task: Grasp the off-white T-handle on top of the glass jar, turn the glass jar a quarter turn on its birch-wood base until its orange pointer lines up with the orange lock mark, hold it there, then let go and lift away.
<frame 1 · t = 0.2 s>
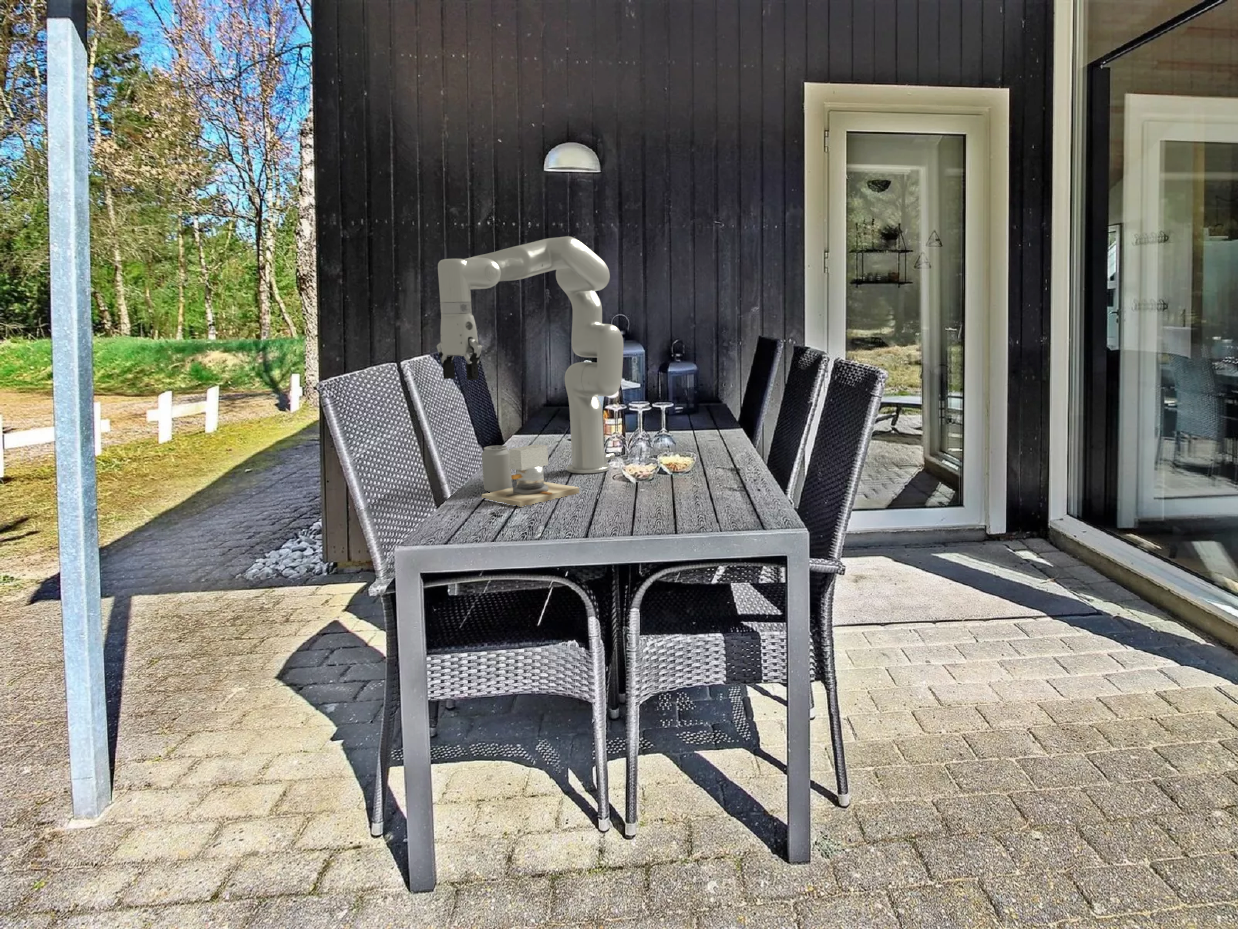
hand: (460, 379, 219), 31 cm above the table, tool pointing down, fingers open, 9 cm apart
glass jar: (527, 467, 222), point 8 cm above the table, hinge at 0.0°
base plate: (531, 496, 224), on the table
can: (498, 491, 232), on the table
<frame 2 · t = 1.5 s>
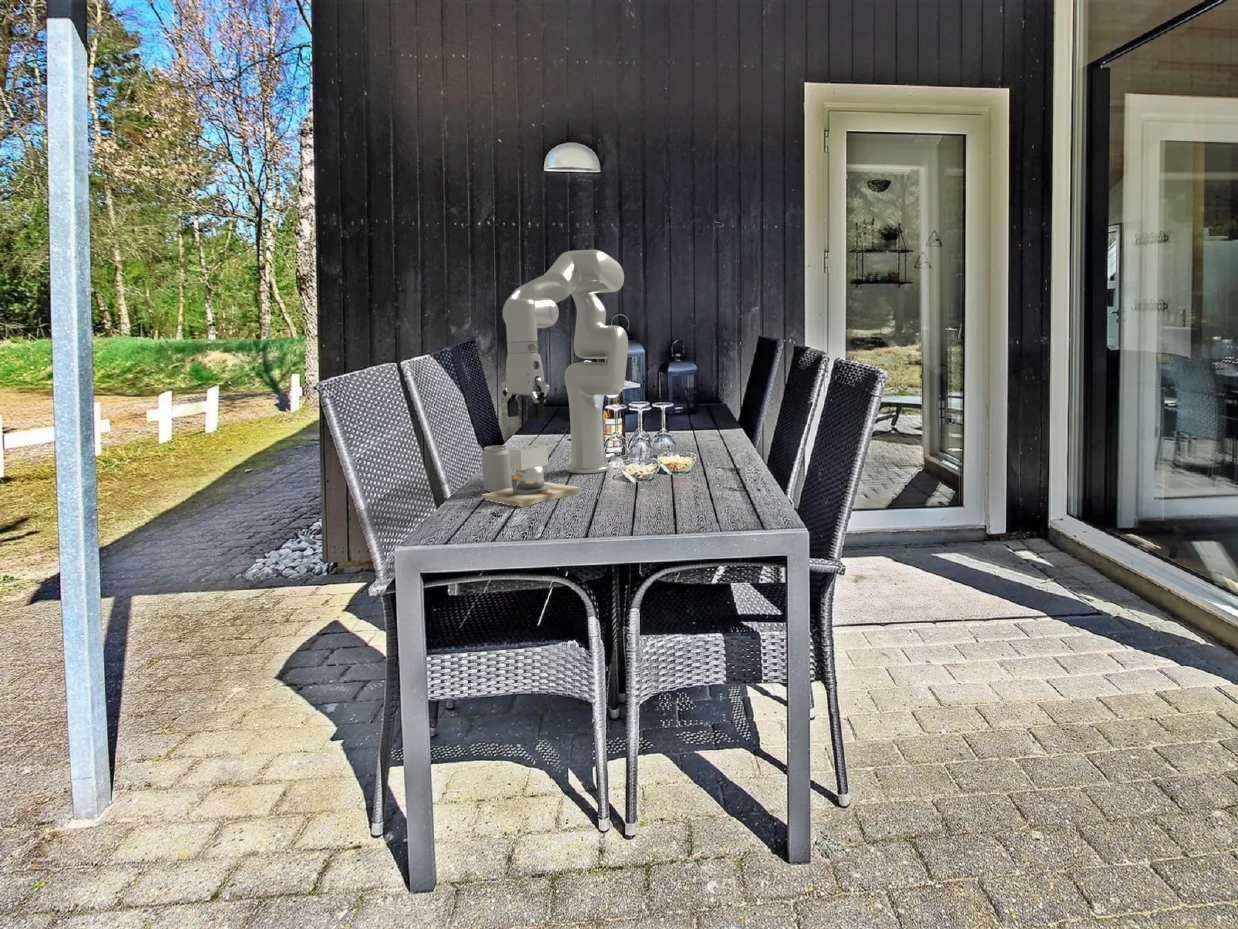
hand: (525, 417, 220), 21 cm above the table, tool pointing down, fingers open, 9 cm apart
nothing on the table moved.
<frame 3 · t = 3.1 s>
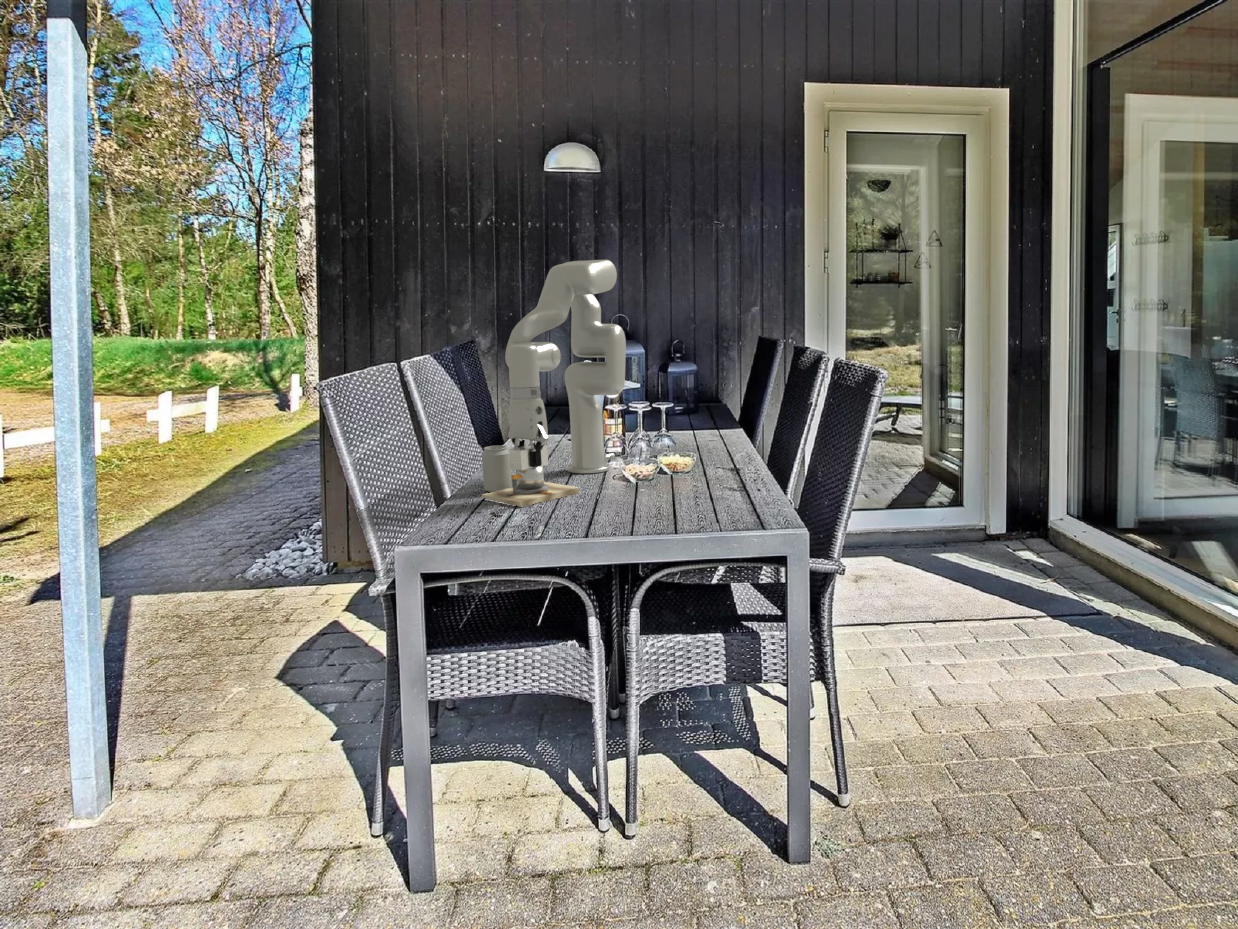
hand: (529, 464, 222), 8 cm above the table, tool pointing down, fingers closed on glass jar, 4 cm apart
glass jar: (527, 467, 222), point 8 cm above the table, hinge at 0.0°, touching gripper
everything else where it was.
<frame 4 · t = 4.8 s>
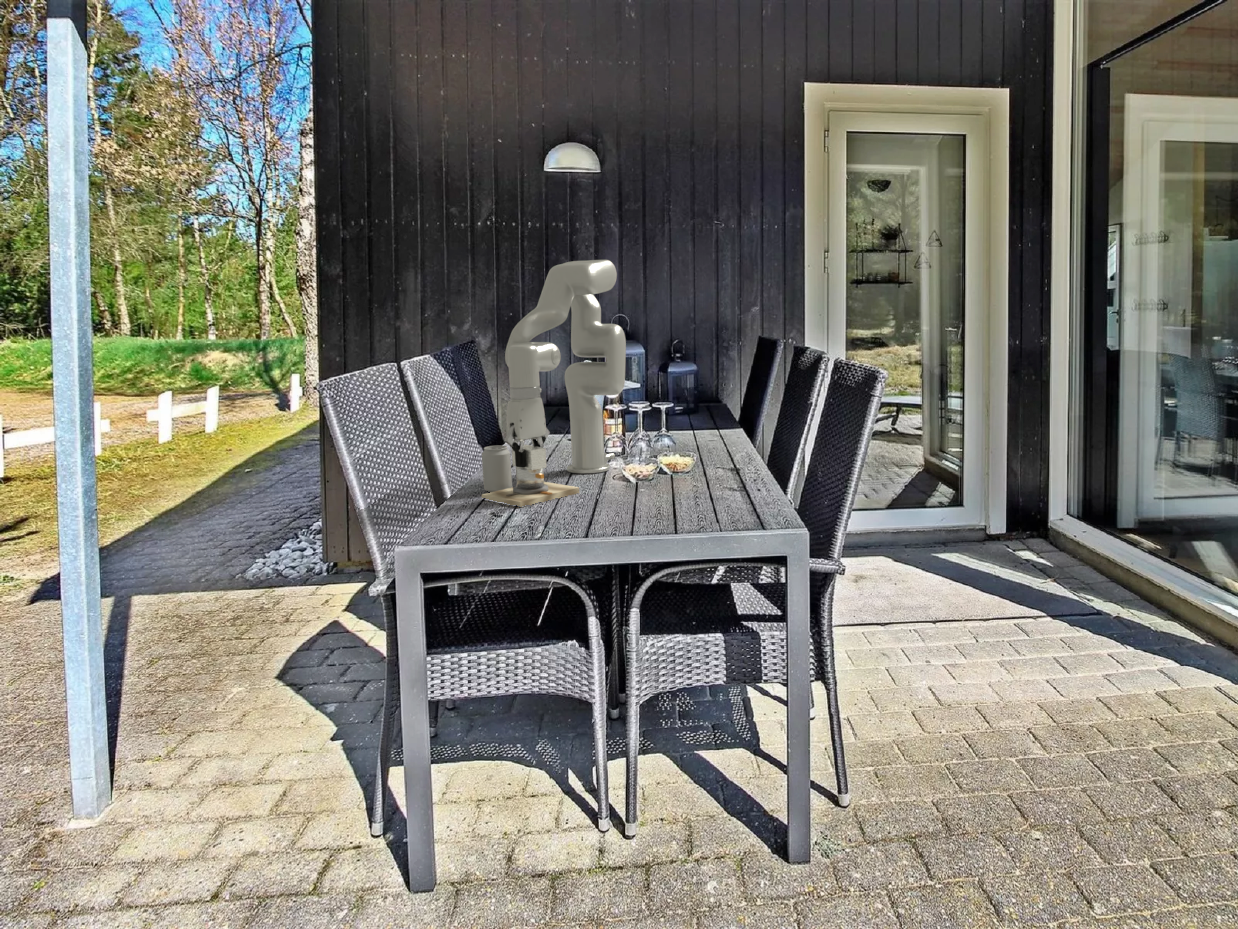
hand: (529, 464, 222), 8 cm above the table, tool pointing down, fingers closed on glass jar, 5 cm apart
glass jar: (530, 467, 222), point 8 cm above the table, hinge at 81.9°, touching gripper
everything else where it was.
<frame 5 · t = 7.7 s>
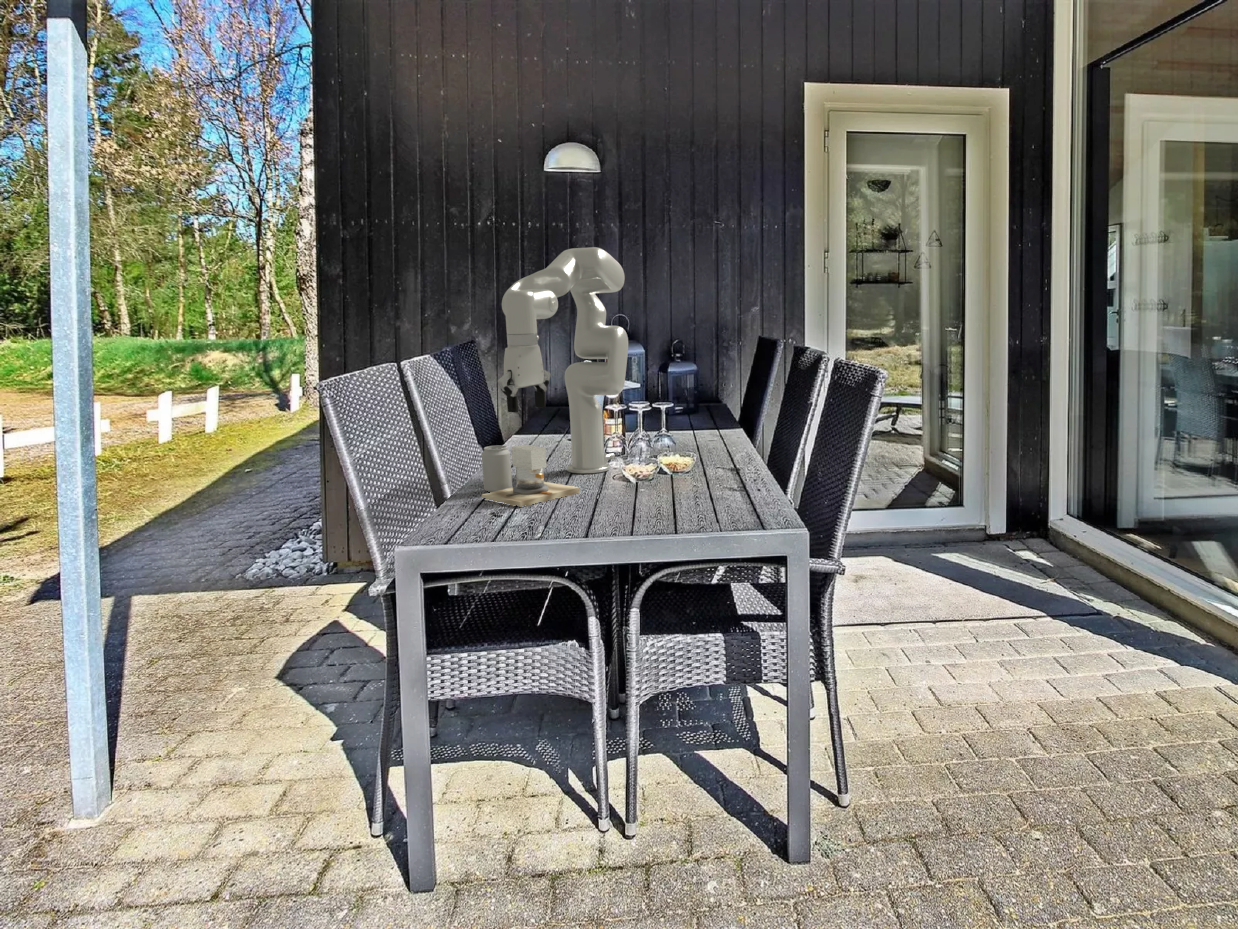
hand: (527, 409, 220), 22 cm above the table, tool pointing down, fingers open, 9 cm apart
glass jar: (530, 467, 222), point 8 cm above the table, hinge at 82.1°
everything else where it was.
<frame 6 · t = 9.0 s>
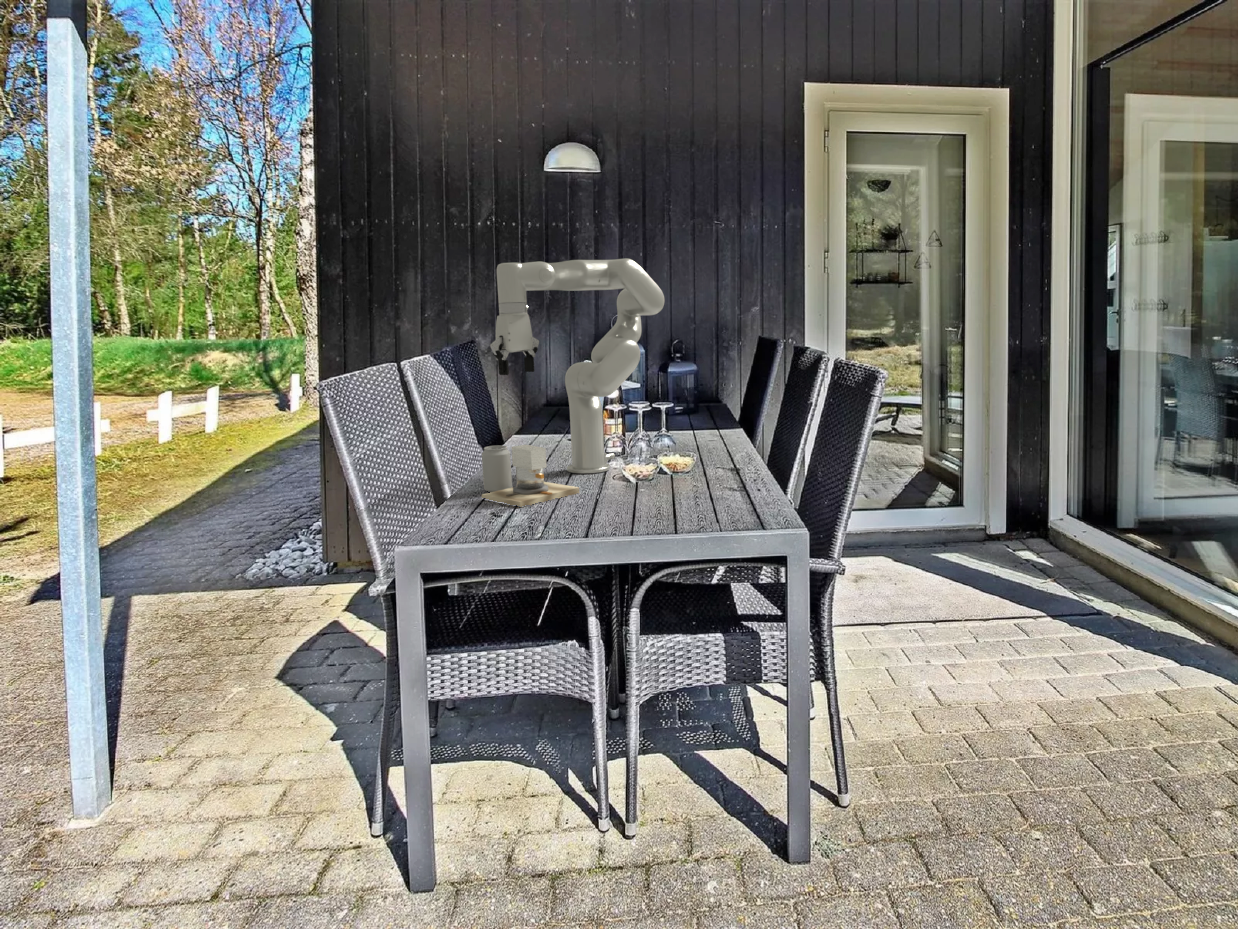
hand: (517, 373, 238), 30 cm above the table, tool pointing down, fingers open, 9 cm apart
nothing on the table moved.
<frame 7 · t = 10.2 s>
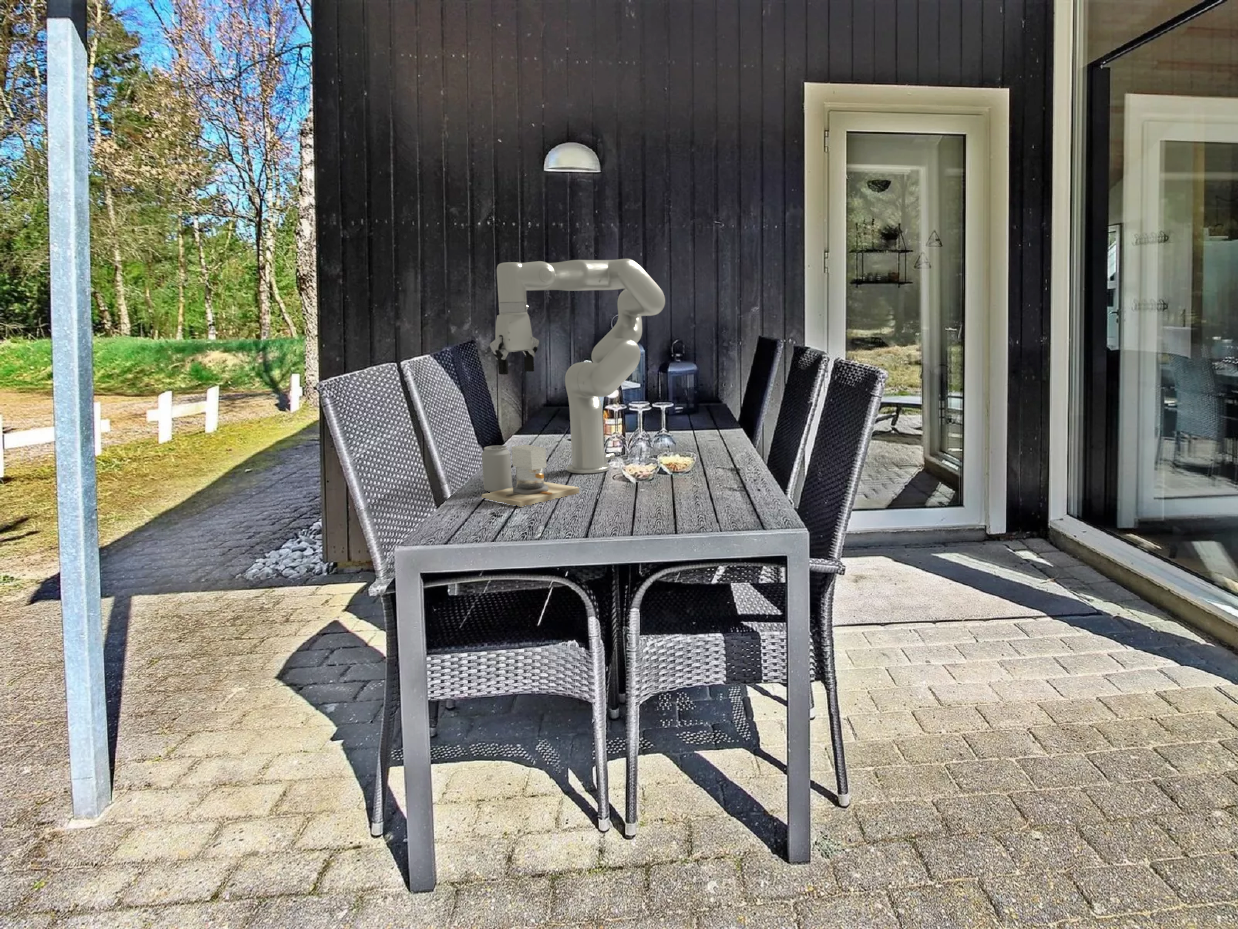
hand: (516, 372, 238), 30 cm above the table, tool pointing down, fingers open, 9 cm apart
nothing on the table moved.
at the end: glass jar at +82° (first picture: +0°); the gripper is holding nothing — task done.
